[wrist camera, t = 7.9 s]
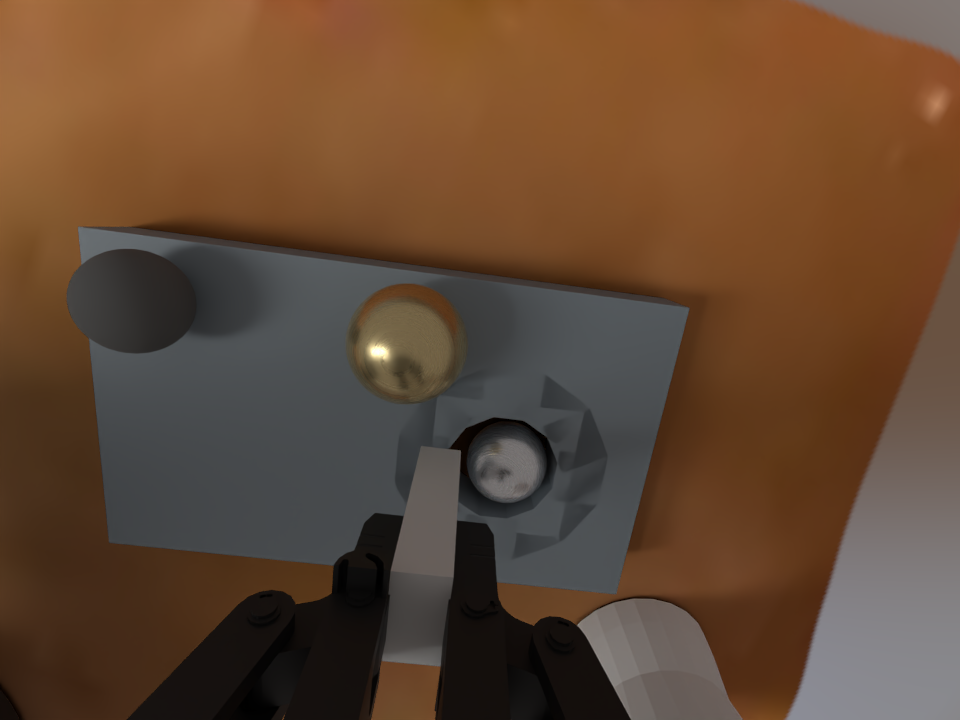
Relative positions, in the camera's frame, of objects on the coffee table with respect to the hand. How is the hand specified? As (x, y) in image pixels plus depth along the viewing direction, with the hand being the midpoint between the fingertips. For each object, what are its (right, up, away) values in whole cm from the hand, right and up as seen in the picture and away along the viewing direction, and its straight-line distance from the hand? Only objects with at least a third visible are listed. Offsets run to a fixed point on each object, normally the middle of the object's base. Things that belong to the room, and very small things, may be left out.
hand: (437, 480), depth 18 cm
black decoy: (-10, +6, -2) cm, 12 cm away
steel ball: (+3, 0, +2) cm, 4 cm away
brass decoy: (-1, +5, -2) cm, 6 cm away
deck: (-2, +2, +3) cm, 5 cm away
